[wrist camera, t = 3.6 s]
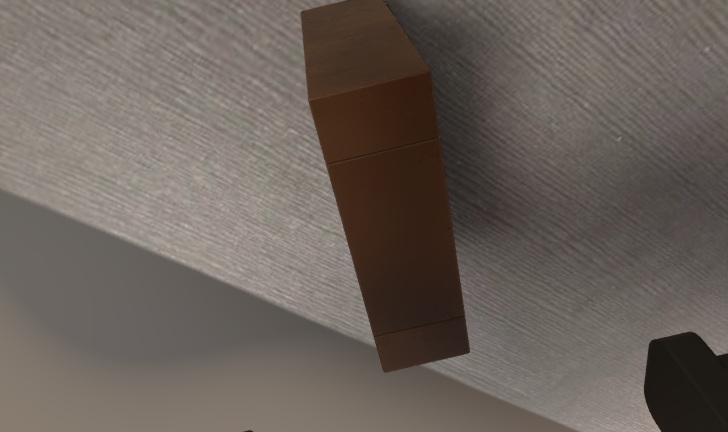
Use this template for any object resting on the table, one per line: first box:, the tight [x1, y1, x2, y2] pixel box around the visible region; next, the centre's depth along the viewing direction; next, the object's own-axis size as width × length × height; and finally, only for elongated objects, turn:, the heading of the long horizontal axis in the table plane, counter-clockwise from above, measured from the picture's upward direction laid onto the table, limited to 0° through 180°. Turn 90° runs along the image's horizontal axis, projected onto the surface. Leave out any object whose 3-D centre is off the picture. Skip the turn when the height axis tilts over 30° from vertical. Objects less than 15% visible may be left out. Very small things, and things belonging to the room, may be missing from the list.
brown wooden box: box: [301, 0, 470, 373], centre depth 20 cm, size 3×10×9 cm, turn 12°
